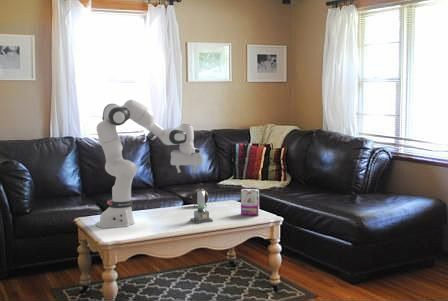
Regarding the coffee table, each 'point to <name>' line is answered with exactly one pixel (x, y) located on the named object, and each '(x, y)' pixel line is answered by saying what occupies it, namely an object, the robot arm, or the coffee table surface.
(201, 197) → the column
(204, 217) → the stand
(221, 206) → the coffee table surface
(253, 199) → the candy bar box
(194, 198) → the alarm clock
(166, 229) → the coffee table surface
